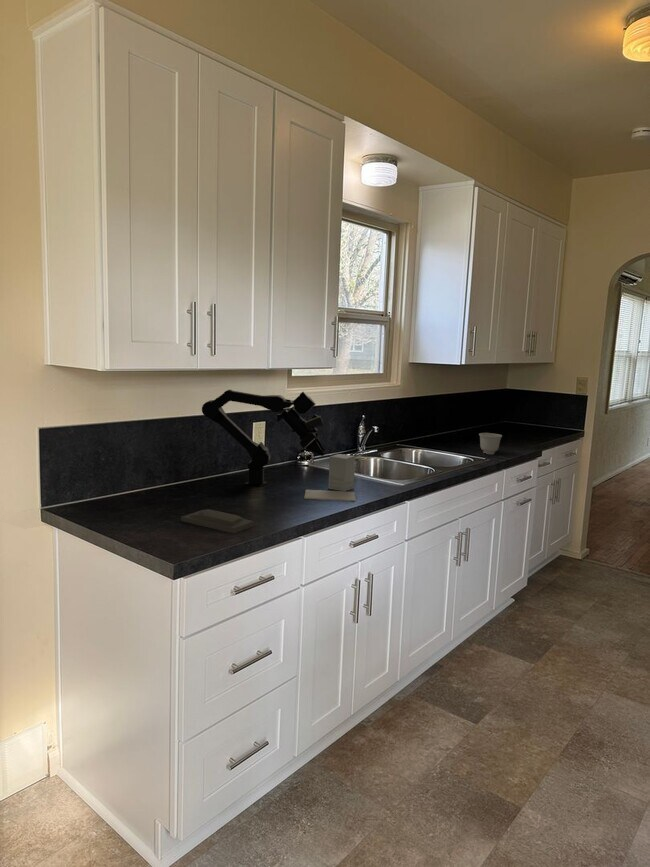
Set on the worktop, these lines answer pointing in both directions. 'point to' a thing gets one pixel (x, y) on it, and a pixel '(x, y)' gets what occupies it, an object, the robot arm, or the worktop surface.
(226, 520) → the soap mold
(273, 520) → the worktop surface
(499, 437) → the teacup
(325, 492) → the grey mat
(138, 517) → the worktop surface
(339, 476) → the supplement box
